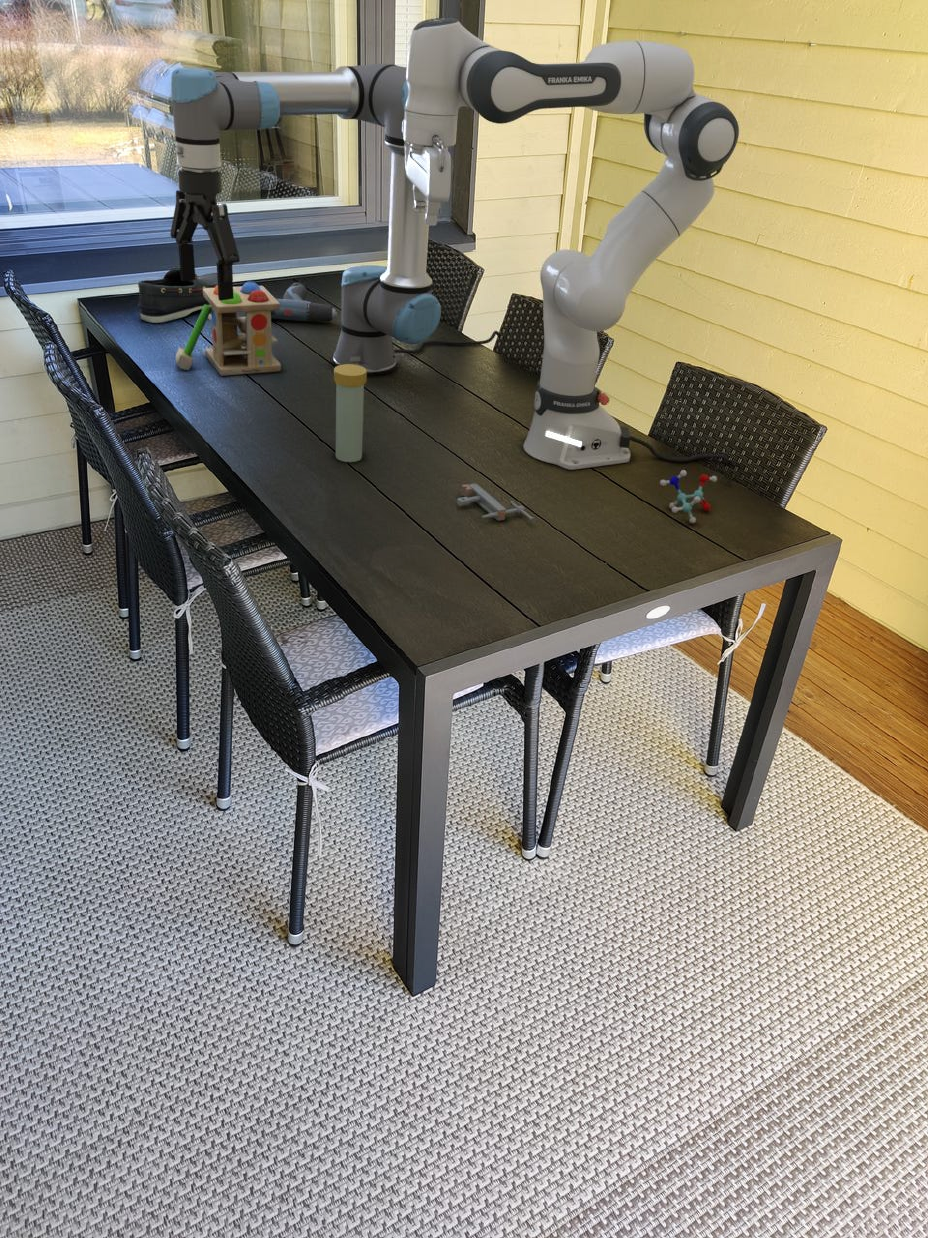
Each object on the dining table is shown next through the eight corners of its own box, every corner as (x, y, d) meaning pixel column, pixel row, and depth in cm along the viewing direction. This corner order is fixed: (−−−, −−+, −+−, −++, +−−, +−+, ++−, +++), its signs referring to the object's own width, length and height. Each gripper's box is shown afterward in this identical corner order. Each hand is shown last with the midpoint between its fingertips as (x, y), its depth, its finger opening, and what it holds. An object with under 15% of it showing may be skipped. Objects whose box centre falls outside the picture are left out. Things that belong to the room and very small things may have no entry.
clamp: (448, 487, 182) (493, 478, 187) (447, 497, 184) (492, 489, 188) (489, 523, 172) (536, 514, 177) (488, 534, 173) (535, 524, 178)
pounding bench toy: (183, 379, 220) (176, 299, 210) (169, 357, 231) (162, 280, 221) (282, 371, 230) (280, 294, 220) (264, 350, 240) (262, 276, 230)
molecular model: (721, 517, 179) (705, 464, 177) (670, 531, 182) (655, 480, 181) (726, 508, 189) (711, 458, 188) (678, 522, 193) (663, 473, 191)
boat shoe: (248, 301, 272) (246, 262, 267) (158, 325, 248) (153, 283, 243) (214, 293, 278) (211, 255, 272) (123, 315, 254) (117, 274, 248)
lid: (347, 372, 190) (348, 361, 189) (373, 381, 187) (373, 369, 186) (327, 380, 186) (327, 369, 184) (352, 389, 183) (352, 378, 182)
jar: (347, 448, 198) (348, 365, 188) (367, 456, 196) (369, 372, 186) (330, 456, 194) (330, 371, 185) (350, 464, 192) (352, 379, 182)
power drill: (344, 304, 276) (335, 327, 259) (277, 298, 275) (264, 321, 258) (344, 285, 273) (335, 306, 256) (277, 279, 272) (264, 300, 255)
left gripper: (145, 155, 179) (155, 274, 191) (217, 183, 164) (224, 310, 176) (182, 153, 183) (190, 269, 195) (256, 180, 169) (260, 304, 181)
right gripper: (463, 142, 156) (456, 233, 164) (435, 122, 172) (430, 205, 180) (424, 140, 155) (419, 232, 162) (400, 119, 171) (396, 204, 179)
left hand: (206, 289), depth 186 cm, fingers open, 13 cm apart
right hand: (424, 218), depth 171 cm, fingers open, 8 cm apart
